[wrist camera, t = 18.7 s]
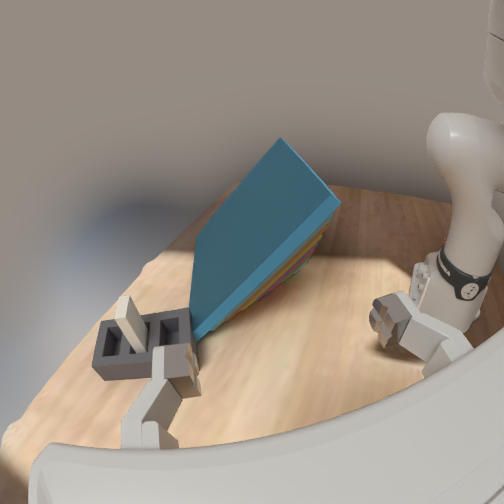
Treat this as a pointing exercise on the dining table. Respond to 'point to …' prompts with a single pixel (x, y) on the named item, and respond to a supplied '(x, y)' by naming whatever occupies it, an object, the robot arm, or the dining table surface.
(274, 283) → the stacked coloured sheets
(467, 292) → the robot arm
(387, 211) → the dining table surface
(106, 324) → the stand
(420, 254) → the dining table surface
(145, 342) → the white rectangular block
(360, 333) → the dining table surface
